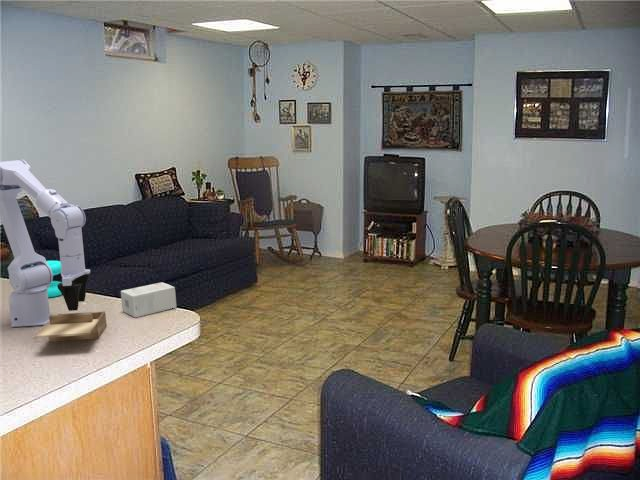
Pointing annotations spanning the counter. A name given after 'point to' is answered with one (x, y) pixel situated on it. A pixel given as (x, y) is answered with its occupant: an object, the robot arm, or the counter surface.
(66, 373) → the counter surface
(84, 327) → the lid
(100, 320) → the wooden box
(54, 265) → the donuts
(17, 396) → the counter surface
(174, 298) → the small box
